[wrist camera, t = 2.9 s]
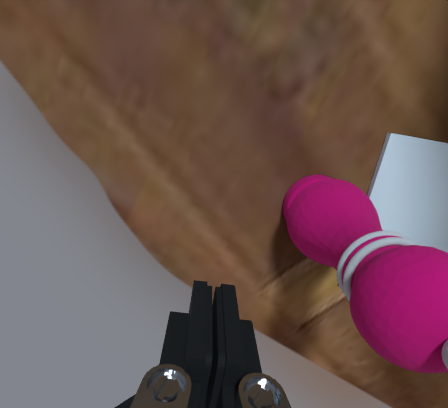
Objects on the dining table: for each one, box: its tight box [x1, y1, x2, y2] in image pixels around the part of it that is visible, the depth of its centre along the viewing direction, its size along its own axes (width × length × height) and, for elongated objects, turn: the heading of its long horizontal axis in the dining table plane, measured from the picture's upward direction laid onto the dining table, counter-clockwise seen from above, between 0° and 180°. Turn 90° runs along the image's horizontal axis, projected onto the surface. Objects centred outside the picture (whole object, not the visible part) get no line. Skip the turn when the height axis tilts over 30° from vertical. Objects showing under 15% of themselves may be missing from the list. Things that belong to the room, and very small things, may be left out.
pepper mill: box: [283, 175, 448, 373], centre depth 20 cm, size 7×7×20 cm
